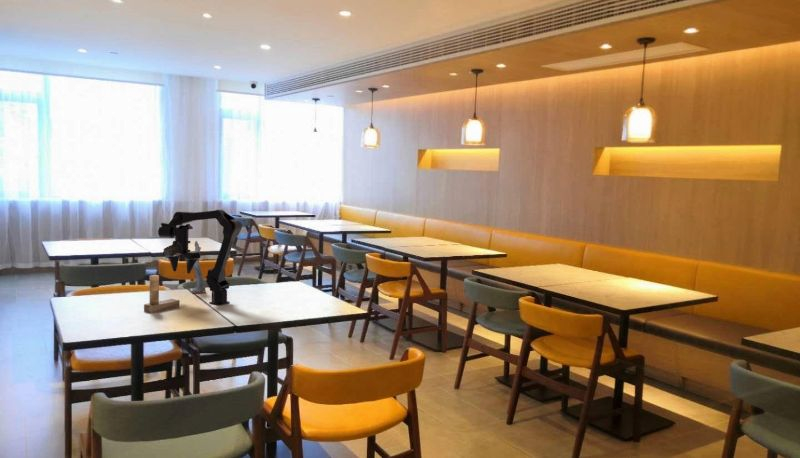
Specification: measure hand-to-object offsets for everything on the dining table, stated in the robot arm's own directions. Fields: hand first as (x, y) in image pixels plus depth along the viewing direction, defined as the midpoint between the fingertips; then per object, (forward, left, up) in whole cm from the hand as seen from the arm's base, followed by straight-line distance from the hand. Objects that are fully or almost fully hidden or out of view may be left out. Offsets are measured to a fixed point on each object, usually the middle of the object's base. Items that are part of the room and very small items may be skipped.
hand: (181, 272), depth 265 cm
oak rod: (-8, +21, -10) cm, 25 cm away
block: (-8, +17, -13) cm, 23 cm away
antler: (+10, -18, -13) cm, 24 cm away
